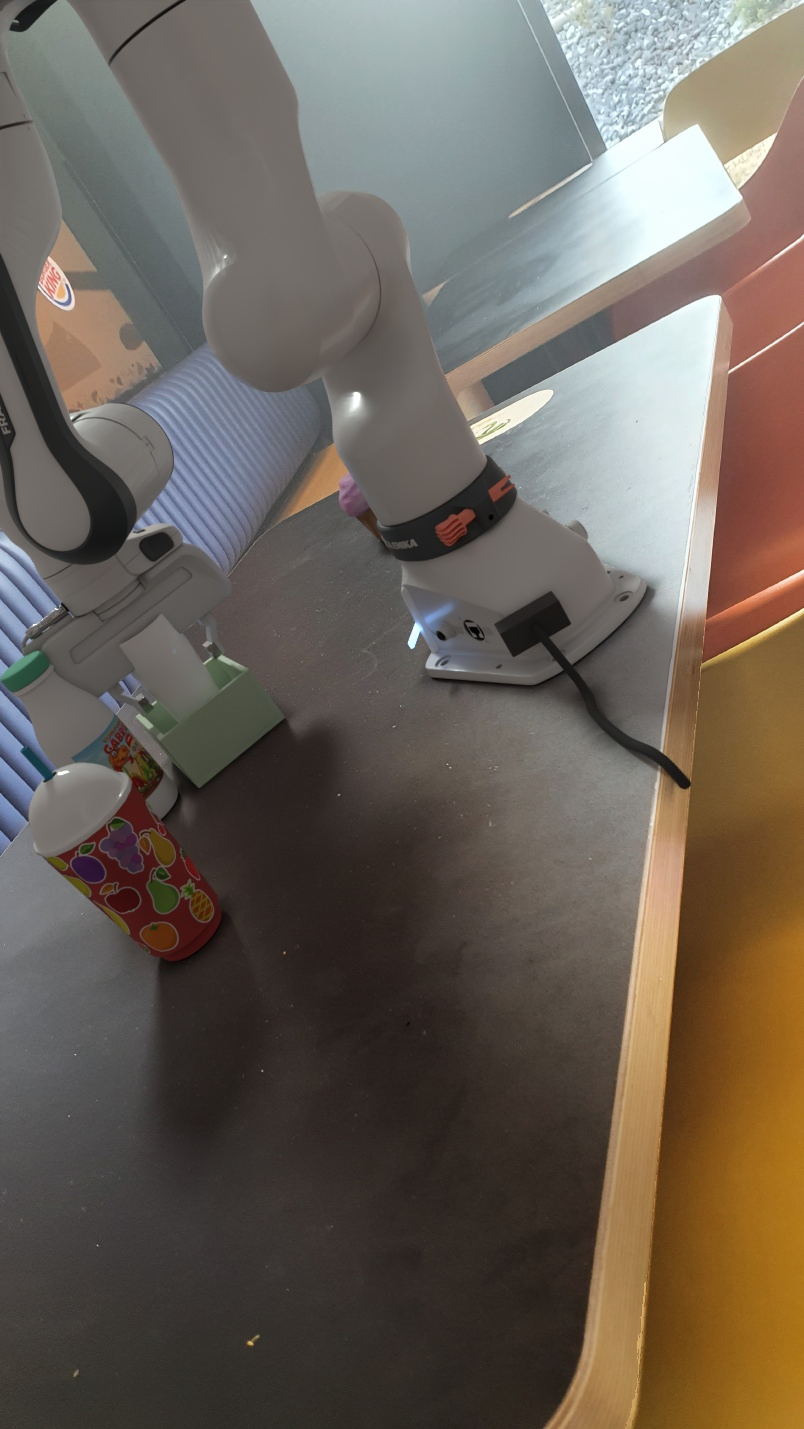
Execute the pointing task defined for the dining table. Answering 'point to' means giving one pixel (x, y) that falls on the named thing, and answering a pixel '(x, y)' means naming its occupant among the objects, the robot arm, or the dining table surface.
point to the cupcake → (357, 505)
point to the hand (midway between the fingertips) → (184, 683)
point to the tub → (215, 723)
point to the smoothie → (121, 857)
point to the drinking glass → (169, 668)
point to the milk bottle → (84, 729)
